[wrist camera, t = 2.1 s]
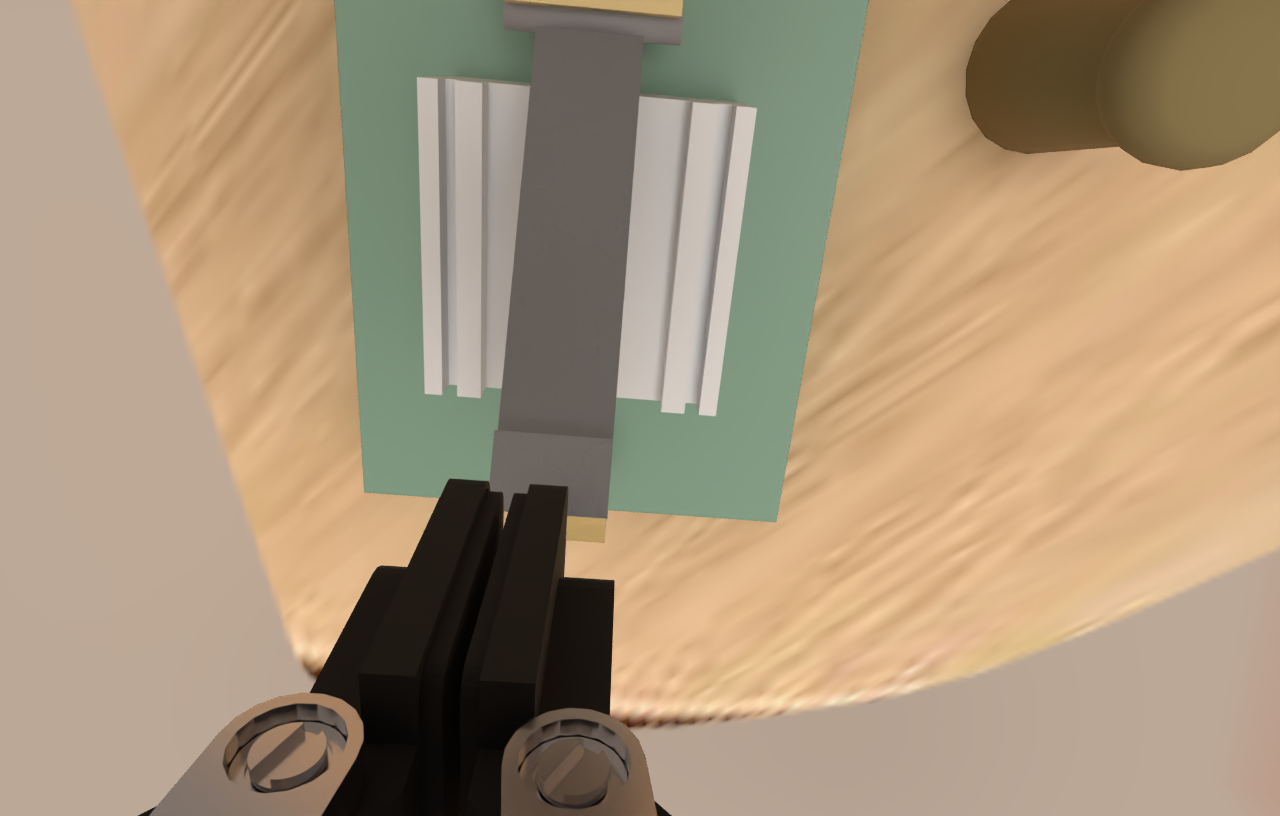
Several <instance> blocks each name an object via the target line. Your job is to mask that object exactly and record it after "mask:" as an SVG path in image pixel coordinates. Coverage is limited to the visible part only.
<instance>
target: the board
mask: <svg viewBox="0 0 1280 816" xmlns="http://www.w3.org/2000/svg"><path fill="white" fill-rule="evenodd" d="M334 2H335V19H336V35H337V52H338V68H339V85H340V101H341V118H342V134H343V151H344V167H345V183H346V200H347V216H348V233H349V249H350V266H351V282H352V299H353V315H354V332H355V348H356V365H357V381H358V397H359V414H360V430H361V447H362V463H363V480H364V492H365V493H379V494H393V495H407V496H421V497H434V498H440V496H441V494H442V492H443V490H444V487H445V485H446V483H447V481H448V480H449V479H450V478H452V479H466V480H481V481H490V471H491V460H492V450H493V439H494V430H498V423H499V412H500V401H501V391H502V380H503V370H504V359H505V348H506V338H507V327H508V317H509V306H510V295H511V285H512V274H513V264H514V253H515V242H516V232H517V221H518V211H519V200H520V189H521V179H522V168H523V158H524V147H525V136H526V126H527V115H528V105H529V94H530V83H531V73H532V62H533V52H534V41H535V30H536V26H543V27H553V28H564V29H575V30H585V31H596V32H607V33H618V34H628V35H639V36H644V43H643V56H642V69H641V82H640V96H639V109H638V122H637V135H636V148H635V161H634V174H633V187H632V200H631V213H630V226H629V239H628V252H627V265H626V278H625V291H624V305H623V318H622V331H621V344H620V357H619V370H618V383H617V396H616V409H615V422H614V435H613V449H612V463H611V476H610V489H609V502H608V510H614V511H628V512H642V513H655V514H669V515H683V516H697V517H711V518H724V519H738V520H752V521H766V522H776V521H777V515H778V509H779V504H780V498H781V493H782V487H783V481H784V476H785V470H786V464H787V459H788V453H789V447H790V442H791V436H792V431H793V425H794V419H795V414H796V408H797V402H798V397H799V391H800V385H801V380H802V374H803V368H804V363H805V357H806V352H807V346H808V340H809V335H810V329H811V323H812V318H813V312H814V306H815V301H816V295H817V290H818V284H819V278H820V273H821V267H822V261H823V256H824V250H825V244H826V239H827V233H828V227H829V222H830V216H831V211H832V205H833V199H834V194H835V188H836V182H837V177H838V171H839V165H840V160H841V154H842V149H843V143H844V137H845V132H846V126H847V120H848V115H849V109H850V103H851V98H852V92H853V86H854V81H855V75H856V70H857V64H858V58H859V53H860V47H861V41H862V36H863V30H864V24H865V19H866V13H867V7H868V2H869V0H334Z"/></svg>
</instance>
